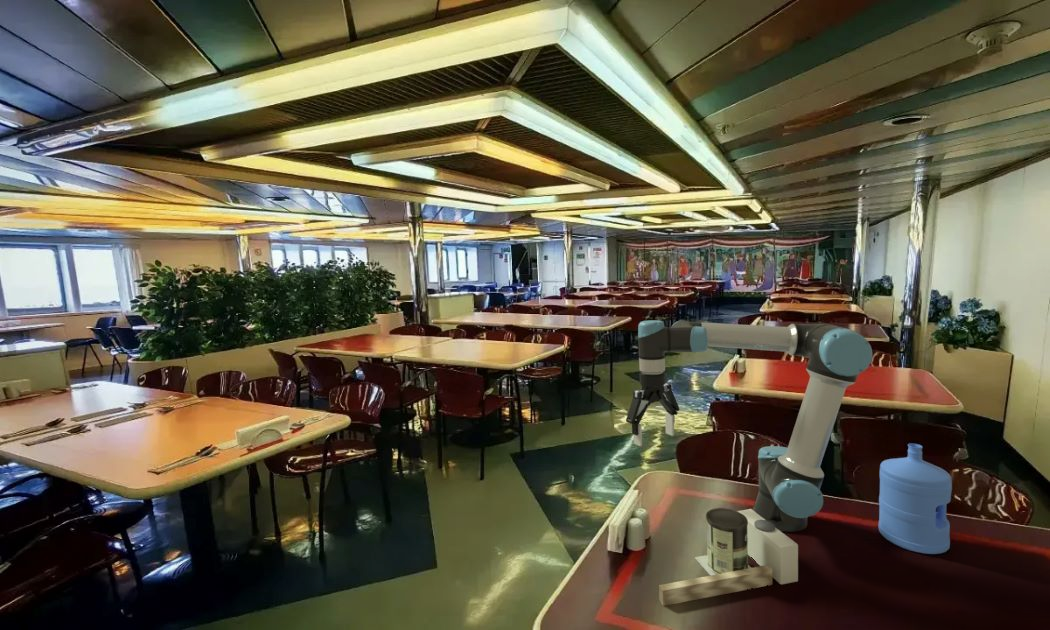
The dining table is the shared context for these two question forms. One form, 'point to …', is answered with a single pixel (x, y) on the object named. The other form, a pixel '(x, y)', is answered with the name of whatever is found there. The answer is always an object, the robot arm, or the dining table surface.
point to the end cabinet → (767, 549)
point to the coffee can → (726, 540)
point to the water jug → (914, 503)
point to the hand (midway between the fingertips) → (654, 439)
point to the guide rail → (715, 585)
